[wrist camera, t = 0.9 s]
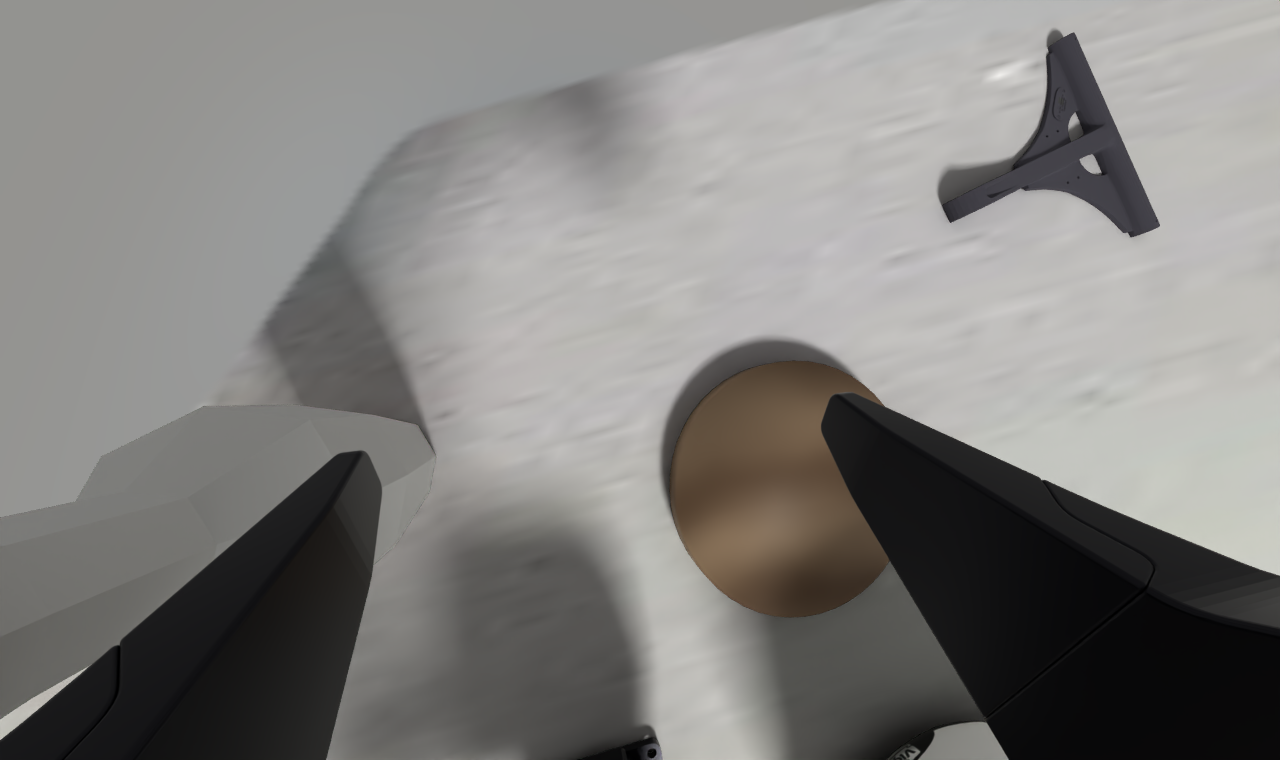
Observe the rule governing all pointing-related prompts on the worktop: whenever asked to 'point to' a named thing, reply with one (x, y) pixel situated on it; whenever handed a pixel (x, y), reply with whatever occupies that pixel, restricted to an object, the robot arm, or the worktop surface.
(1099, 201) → the bracket
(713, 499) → the walnut board
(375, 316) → the worktop surface
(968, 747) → the milk container
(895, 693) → the worktop surface
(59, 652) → the low poly bottle
